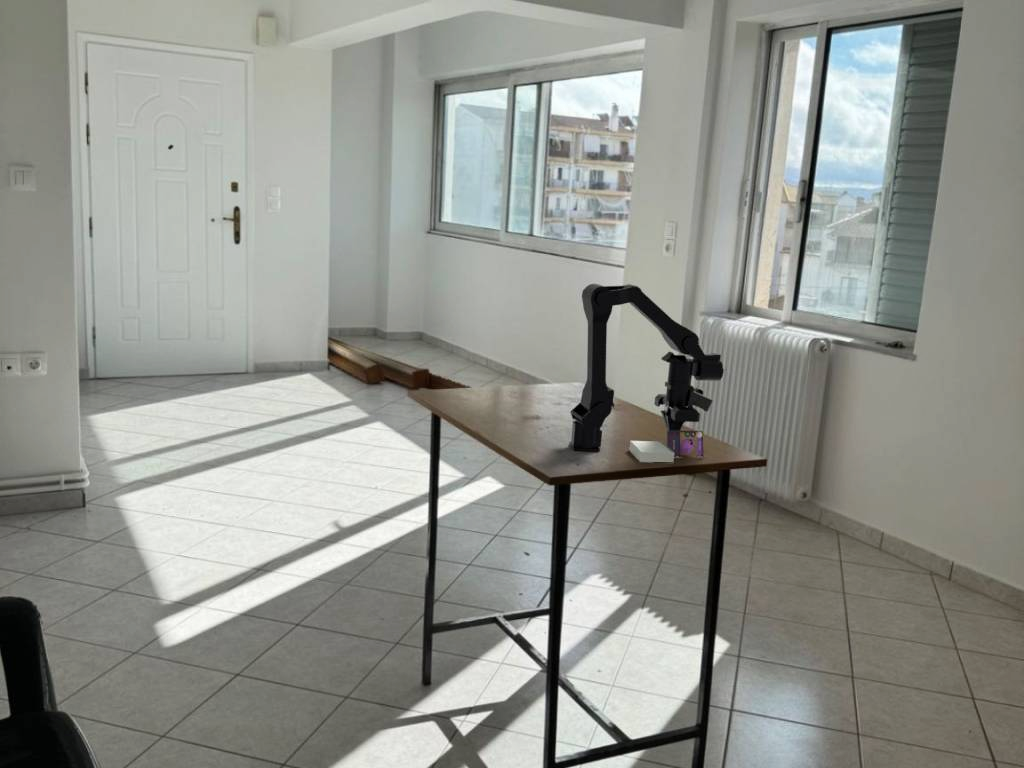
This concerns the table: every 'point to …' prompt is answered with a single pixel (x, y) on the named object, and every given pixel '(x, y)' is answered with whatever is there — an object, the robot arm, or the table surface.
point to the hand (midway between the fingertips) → (673, 441)
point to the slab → (651, 451)
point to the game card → (684, 442)
